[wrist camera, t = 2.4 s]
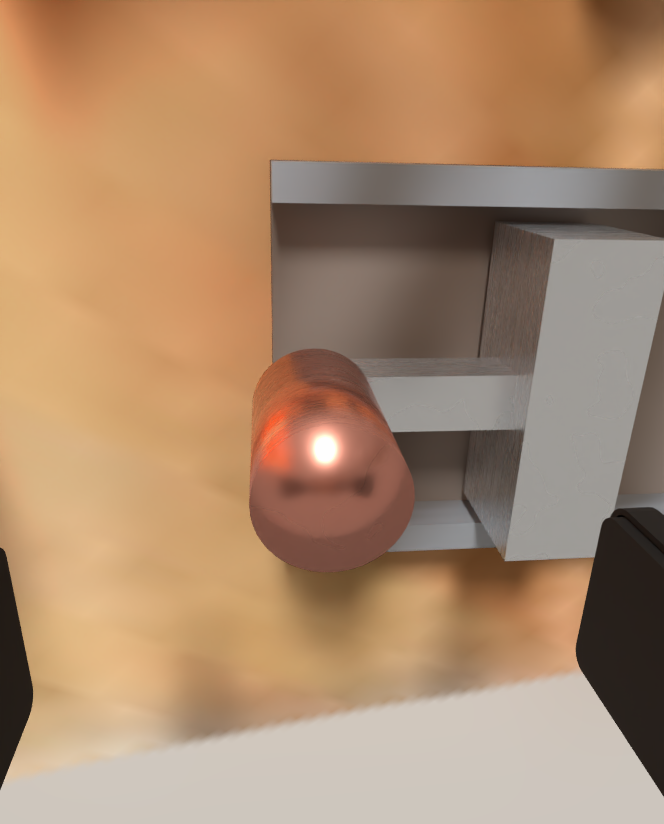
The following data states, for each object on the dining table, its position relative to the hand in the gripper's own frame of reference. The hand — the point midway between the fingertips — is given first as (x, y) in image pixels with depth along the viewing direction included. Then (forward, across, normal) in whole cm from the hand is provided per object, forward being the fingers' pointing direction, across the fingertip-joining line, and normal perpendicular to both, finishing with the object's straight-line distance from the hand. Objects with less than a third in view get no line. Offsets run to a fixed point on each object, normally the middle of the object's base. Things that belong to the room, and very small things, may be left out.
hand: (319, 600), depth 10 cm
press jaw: (+10, -4, 0) cm, 11 cm away
